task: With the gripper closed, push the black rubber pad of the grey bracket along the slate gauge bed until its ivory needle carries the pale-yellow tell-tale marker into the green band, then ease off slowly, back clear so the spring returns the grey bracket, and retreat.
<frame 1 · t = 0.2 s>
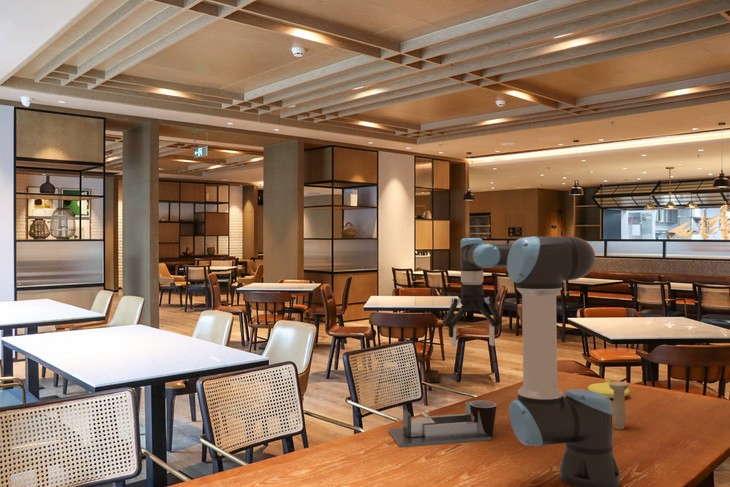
hand: (472, 346, 210), 28 cm above the table, fingers open, 13 cm apart
gauge bed: (438, 435, 202), on the table
handle: (619, 428, 207), on the table
grey bracket: (416, 420, 204), point 5 cm above the table, slide at 0.0 cm
coffee mug: (483, 433, 204), on the table, touching gauge bed
yellow pot lid: (608, 397, 248), on the table
marker: (426, 418, 209), point 4 cm above the table, slide at 0.0 cm
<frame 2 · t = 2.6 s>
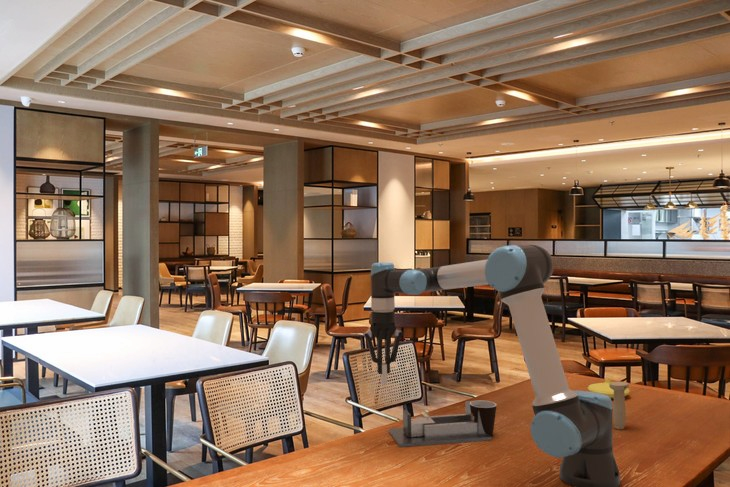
hand: (383, 383, 199), 18 cm above the table, fingers closed
nothing on the table moved.
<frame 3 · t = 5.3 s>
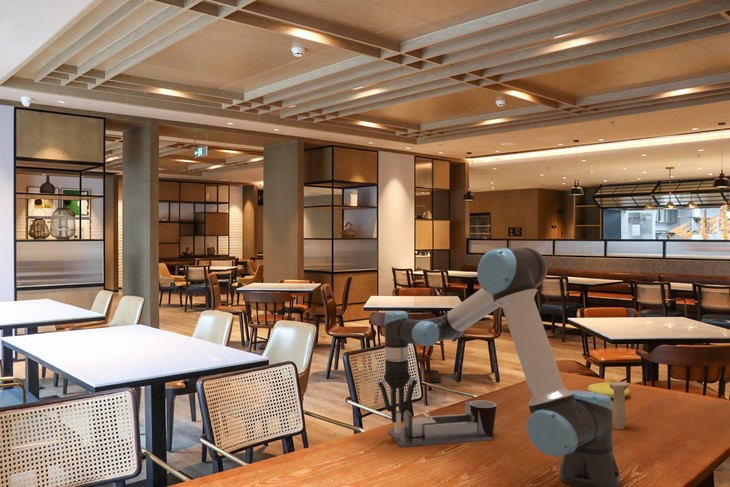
hand: (397, 431, 200), 2 cm above the table, fingers closed
grey bracket: (418, 420, 204), point 5 cm above the table, slide at 0.4 cm, touching gripper, marker
marker: (427, 418, 209), point 4 cm above the table, slide at 0.2 cm, touching grey bracket
everything else where it was.
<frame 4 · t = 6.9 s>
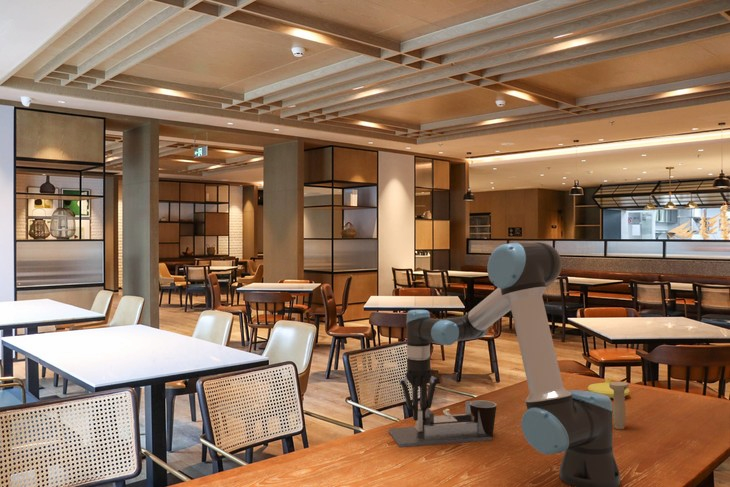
hand: (419, 430, 201), 2 cm above the table, fingers closed
grey bracket: (438, 418, 205), point 5 cm above the table, slide at 7.5 cm, touching gripper, marker
marker: (447, 416, 210), point 4 cm above the table, slide at 7.3 cm, touching grey bracket
everything else where it was.
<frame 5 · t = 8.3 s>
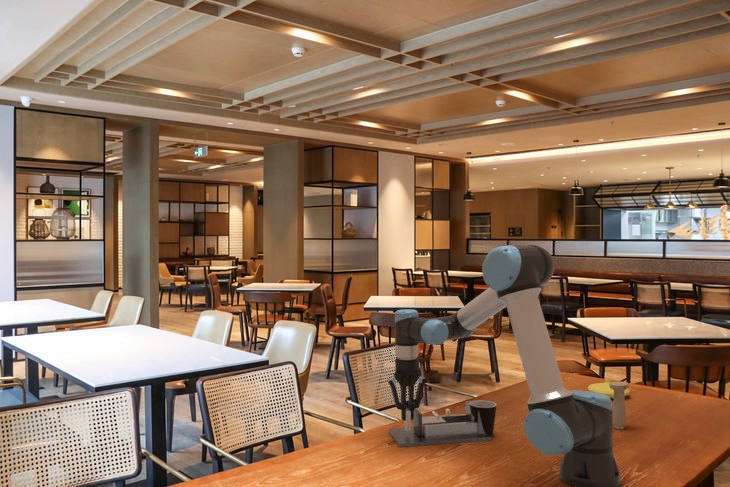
hand: (407, 429, 201), 3 cm above the table, fingers closed
grey bracket: (427, 419, 204), point 5 cm above the table, slide at 3.6 cm, touching gripper
marker: (447, 416, 210), point 4 cm above the table, slide at 7.4 cm
everything else where it was.
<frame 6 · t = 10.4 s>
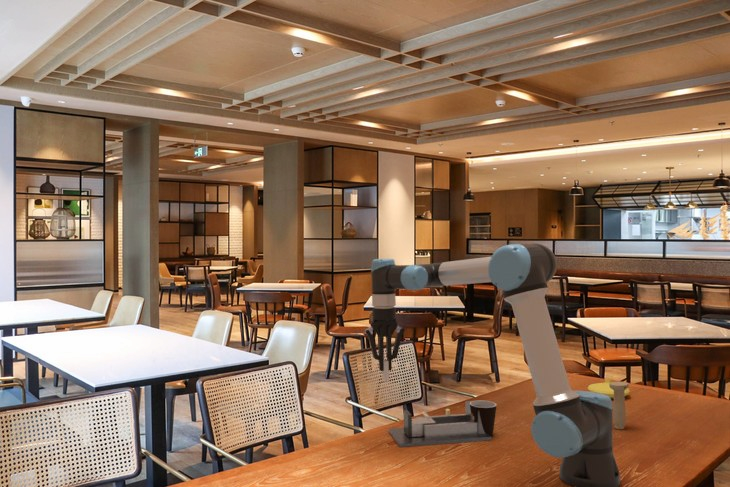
hand: (385, 380, 197), 19 cm above the table, fingers closed
grey bracket: (417, 420, 204), point 5 cm above the table, slide at 0.2 cm
everything else where it was.
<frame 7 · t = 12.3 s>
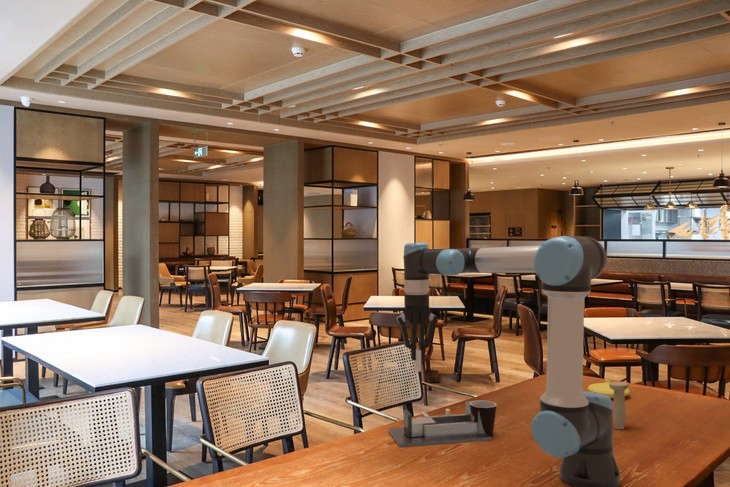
hand: (417, 370, 188), 24 cm above the table, fingers closed
nothing on the table moved.
at the end: marker slide at 7.4 cm; grey bracket slide at 0.2 cm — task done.
